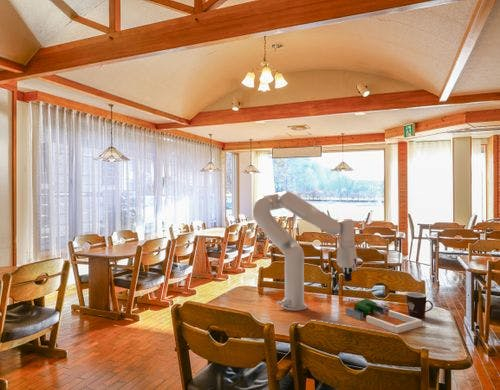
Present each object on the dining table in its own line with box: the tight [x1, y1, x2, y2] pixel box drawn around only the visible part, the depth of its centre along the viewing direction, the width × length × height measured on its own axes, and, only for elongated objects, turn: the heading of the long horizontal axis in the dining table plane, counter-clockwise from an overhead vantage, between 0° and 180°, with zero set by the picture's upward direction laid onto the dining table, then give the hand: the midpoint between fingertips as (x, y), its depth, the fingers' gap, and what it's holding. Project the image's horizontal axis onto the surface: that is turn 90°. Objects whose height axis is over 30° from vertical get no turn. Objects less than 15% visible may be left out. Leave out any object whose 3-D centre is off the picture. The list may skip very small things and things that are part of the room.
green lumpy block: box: [353, 298, 378, 317], centre depth 171 cm, size 12×6×9 cm, turn 130°
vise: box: [345, 303, 391, 321], centre depth 172 cm, size 23×9×3 cm, turn 120°
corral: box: [365, 309, 423, 334], centre depth 157 cm, size 16×16×2 cm
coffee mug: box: [405, 291, 434, 320], centre depth 165 cm, size 12×9×10 cm
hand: (348, 280), depth 181 cm, fingers closed
